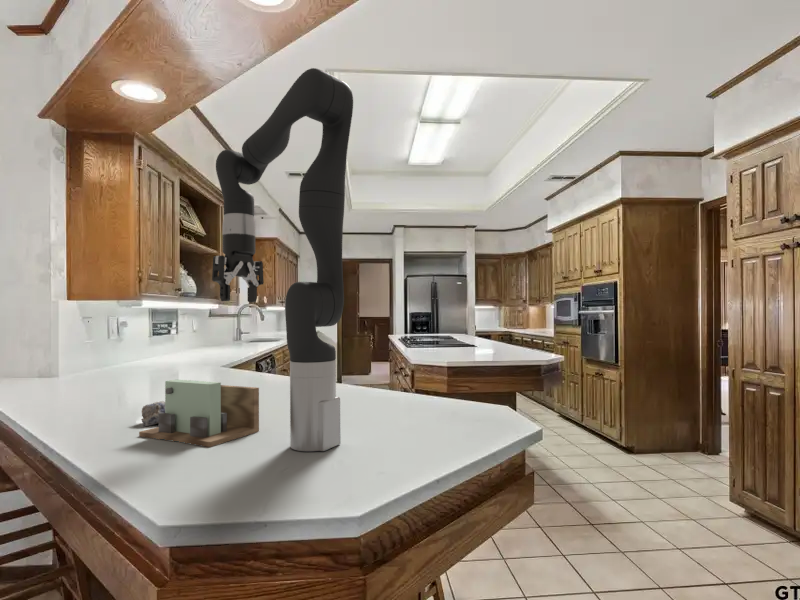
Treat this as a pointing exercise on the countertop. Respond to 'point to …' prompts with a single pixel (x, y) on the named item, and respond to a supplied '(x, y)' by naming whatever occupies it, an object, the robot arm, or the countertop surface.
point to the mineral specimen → (152, 413)
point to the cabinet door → (194, 403)
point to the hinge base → (235, 420)
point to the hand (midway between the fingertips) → (239, 301)
